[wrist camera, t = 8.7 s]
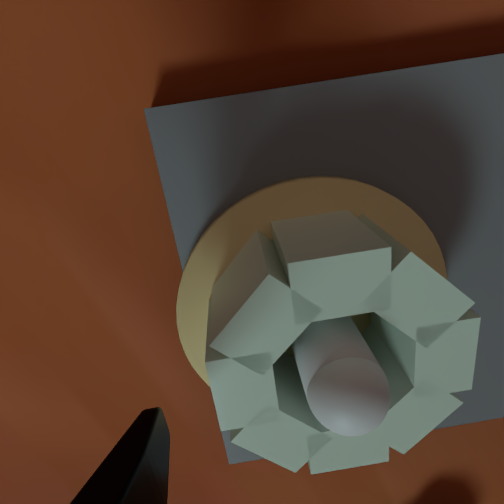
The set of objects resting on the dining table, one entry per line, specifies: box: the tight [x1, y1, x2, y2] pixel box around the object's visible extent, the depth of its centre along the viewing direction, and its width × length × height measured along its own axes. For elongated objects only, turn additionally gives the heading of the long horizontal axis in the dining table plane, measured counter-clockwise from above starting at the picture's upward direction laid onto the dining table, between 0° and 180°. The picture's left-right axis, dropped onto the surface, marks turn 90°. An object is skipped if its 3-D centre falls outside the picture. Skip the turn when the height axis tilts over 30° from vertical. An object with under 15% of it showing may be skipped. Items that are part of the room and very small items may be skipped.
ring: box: [205, 210, 481, 474], centre depth 11 cm, size 7×7×3 cm
